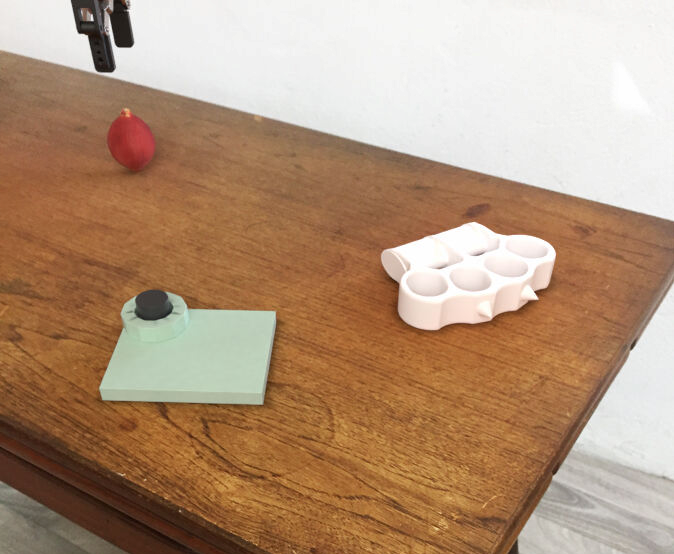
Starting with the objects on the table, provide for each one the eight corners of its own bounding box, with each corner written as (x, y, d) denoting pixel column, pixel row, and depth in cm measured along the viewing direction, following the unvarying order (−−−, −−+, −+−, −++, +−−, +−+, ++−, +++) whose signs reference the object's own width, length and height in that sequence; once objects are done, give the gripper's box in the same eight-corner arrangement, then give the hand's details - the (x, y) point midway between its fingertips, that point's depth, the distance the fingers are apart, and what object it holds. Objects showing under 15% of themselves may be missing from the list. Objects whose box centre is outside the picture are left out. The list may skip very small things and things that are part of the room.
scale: (102, 400, 65) (94, 373, 63) (135, 316, 73) (129, 290, 71) (263, 404, 64) (260, 378, 62) (276, 320, 73) (275, 294, 71)
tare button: (134, 321, 68) (131, 307, 67) (142, 302, 70) (139, 288, 69) (167, 322, 68) (164, 308, 67) (173, 303, 70) (171, 289, 69)
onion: (110, 165, 97) (96, 102, 91) (154, 158, 98) (143, 95, 93) (118, 185, 93) (104, 119, 87) (164, 177, 95) (153, 113, 89)
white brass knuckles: (487, 234, 85) (579, 296, 76) (354, 279, 78) (438, 352, 69) (492, 206, 83) (587, 267, 74) (355, 250, 76) (442, 323, 67)
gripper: (98, -103, 69) (133, 81, 81) (135, -128, 79) (161, 39, 91) (19, -103, 69) (65, 80, 81) (65, -128, 79) (100, 38, 91)
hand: (116, 58), depth 86 cm, fingers open, 8 cm apart
